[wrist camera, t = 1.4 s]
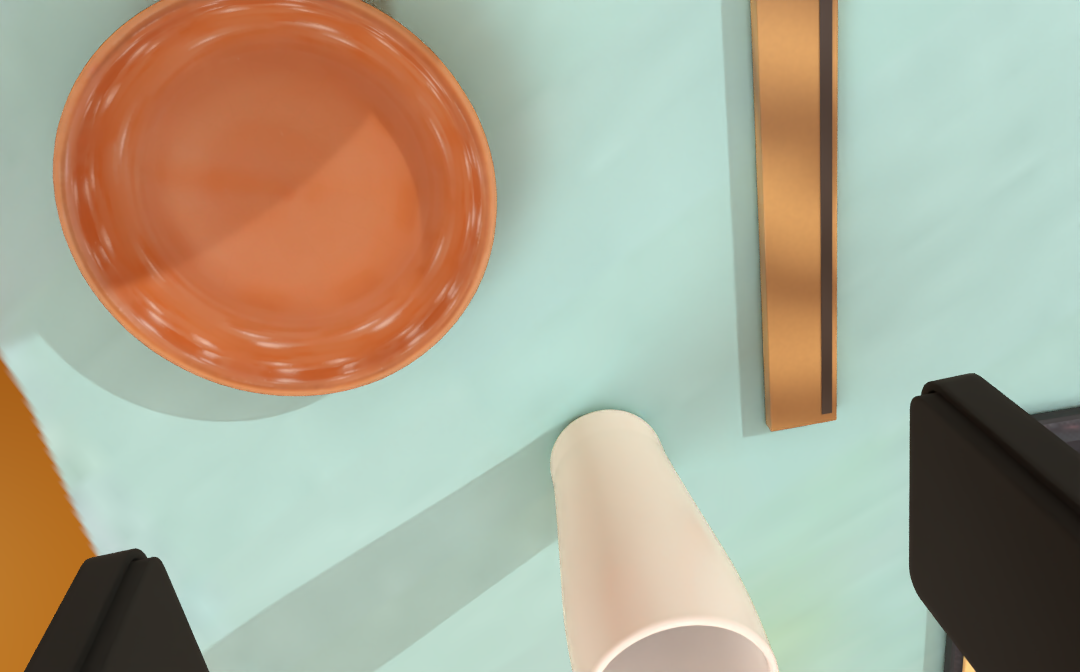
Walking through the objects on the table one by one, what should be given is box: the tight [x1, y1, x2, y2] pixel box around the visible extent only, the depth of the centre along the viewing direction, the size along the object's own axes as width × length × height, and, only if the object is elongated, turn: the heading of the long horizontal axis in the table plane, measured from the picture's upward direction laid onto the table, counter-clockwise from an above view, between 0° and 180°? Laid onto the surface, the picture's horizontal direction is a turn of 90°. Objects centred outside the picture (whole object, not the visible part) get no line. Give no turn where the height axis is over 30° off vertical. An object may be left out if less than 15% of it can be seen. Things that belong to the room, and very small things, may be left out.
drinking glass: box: [550, 409, 779, 672], centre depth 36 cm, size 7×7×15 cm
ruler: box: [750, 0, 838, 431], centre depth 37 cm, size 30×3×1 cm, turn 8°
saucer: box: [53, 0, 497, 396], centre depth 35 cm, size 16×16×3 cm
